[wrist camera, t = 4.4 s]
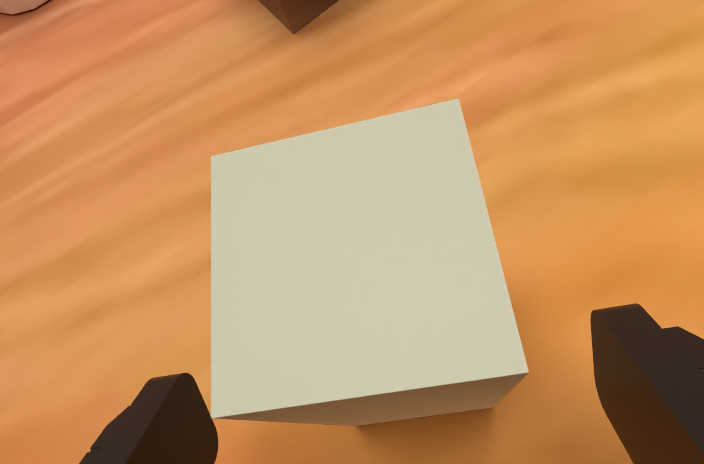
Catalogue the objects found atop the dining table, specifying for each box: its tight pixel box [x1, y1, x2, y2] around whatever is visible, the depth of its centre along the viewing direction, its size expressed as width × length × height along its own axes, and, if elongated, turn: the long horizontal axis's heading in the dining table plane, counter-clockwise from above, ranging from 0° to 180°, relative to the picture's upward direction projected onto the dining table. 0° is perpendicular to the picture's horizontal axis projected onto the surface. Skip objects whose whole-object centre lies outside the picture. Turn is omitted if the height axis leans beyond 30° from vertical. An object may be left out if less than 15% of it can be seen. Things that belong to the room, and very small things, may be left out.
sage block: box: [211, 98, 529, 426], centre depth 12 cm, size 4×4×10 cm
